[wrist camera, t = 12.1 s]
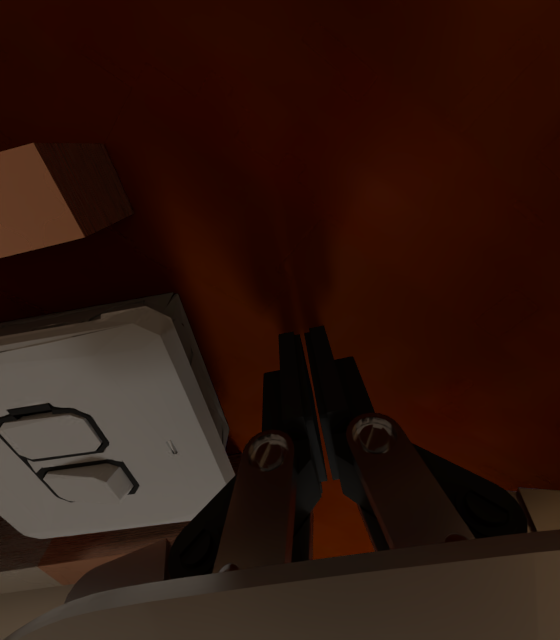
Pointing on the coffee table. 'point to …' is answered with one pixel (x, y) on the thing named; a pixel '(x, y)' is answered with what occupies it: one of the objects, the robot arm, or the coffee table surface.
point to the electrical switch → (107, 420)
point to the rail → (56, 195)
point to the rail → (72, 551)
